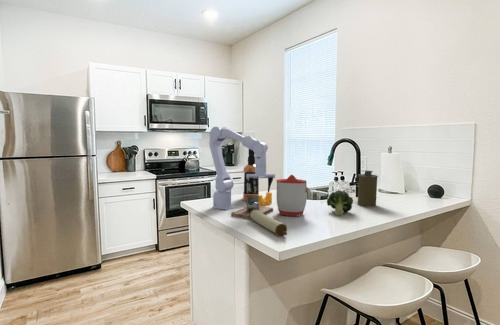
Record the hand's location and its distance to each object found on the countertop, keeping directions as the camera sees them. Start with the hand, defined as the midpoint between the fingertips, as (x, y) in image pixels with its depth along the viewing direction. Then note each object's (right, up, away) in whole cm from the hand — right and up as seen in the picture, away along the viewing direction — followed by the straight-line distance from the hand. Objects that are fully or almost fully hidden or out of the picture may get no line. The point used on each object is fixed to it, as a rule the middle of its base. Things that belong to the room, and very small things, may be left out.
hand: (261, 192), depth 150 cm
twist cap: (-4, -9, -1) cm, 10 cm away
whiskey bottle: (-5, -8, +32) cm, 33 cm away
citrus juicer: (+16, -11, -2) cm, 19 cm away
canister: (+62, -10, +20) cm, 66 cm away
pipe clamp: (+2, -9, +19) cm, 21 cm away
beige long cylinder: (+1, -13, -24) cm, 27 cm away
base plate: (-4, -11, -1) cm, 11 cm away
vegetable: (+41, -11, +2) cm, 43 cm away
